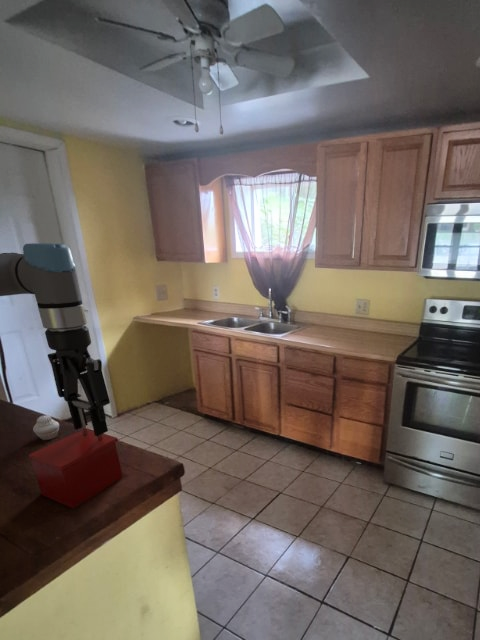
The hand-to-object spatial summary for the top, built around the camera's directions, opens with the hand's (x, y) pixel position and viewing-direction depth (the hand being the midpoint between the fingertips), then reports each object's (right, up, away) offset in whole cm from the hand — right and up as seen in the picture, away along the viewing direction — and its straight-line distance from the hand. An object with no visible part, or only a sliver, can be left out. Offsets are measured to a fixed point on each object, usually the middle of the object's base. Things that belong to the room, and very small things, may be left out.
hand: (91, 429), depth 83 cm
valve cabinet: (-2, -13, +1) cm, 13 cm away
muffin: (-24, -4, +21) cm, 32 cm away
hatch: (-2, -4, -2) cm, 5 cm away
